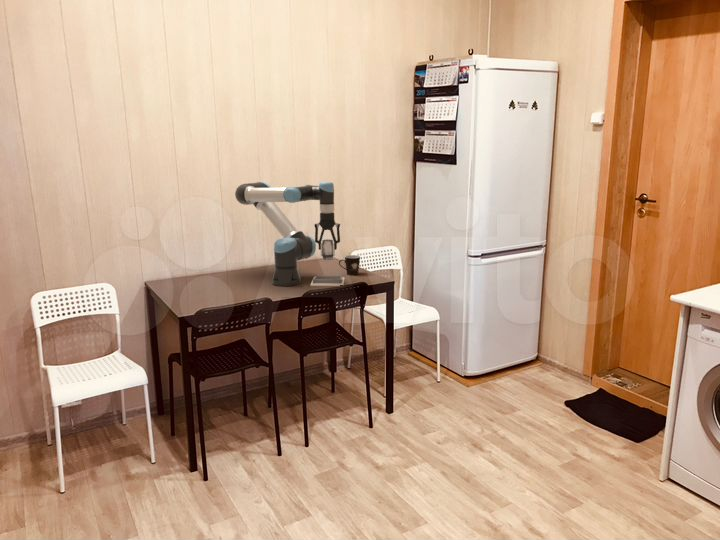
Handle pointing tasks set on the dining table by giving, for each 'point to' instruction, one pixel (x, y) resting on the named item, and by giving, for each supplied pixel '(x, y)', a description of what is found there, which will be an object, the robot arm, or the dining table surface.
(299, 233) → the robot arm
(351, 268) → the coffee mug
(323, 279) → the grey flat tray
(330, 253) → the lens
